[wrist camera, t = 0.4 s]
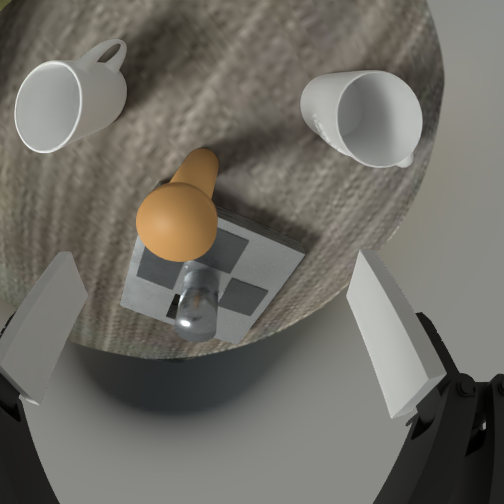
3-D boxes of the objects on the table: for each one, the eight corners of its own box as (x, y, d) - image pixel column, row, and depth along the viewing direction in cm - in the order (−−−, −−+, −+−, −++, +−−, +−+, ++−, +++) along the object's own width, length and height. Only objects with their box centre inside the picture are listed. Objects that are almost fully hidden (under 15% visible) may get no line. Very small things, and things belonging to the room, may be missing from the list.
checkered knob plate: (125, 292, 41) (104, 345, 32) (159, 181, 31) (128, 224, 22) (237, 330, 47) (238, 385, 37) (300, 242, 37) (320, 298, 28)
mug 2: (358, 172, 32) (407, 215, 22) (284, 112, 28) (311, 127, 18) (396, 126, 28) (458, 152, 18) (327, 60, 24) (375, 49, 14)
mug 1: (164, 67, 24) (128, 59, 15) (100, 143, 28) (51, 171, 19) (117, 28, 20) (69, 12, 11) (59, 105, 24) (3, 121, 15)
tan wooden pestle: (171, 176, 31) (128, 244, 18) (189, 134, 28) (149, 175, 16) (213, 194, 33) (198, 272, 20) (234, 153, 30) (230, 208, 17)
